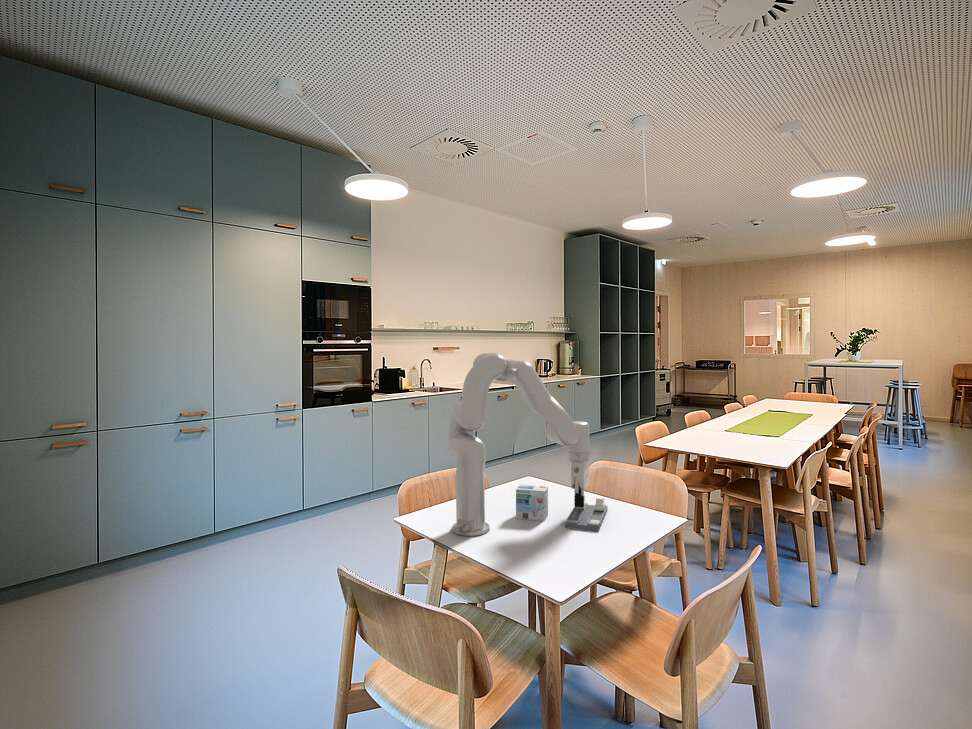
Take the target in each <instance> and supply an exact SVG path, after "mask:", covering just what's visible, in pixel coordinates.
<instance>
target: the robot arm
mask: <svg viewBox="0 0 972 729" xmlns="http://www.w3.org/2000/svg"><path fill="white" fill-rule="evenodd" d="M494 381H497V382H500V383H506V384H512V385H514V386H516V388H517V390H518V391H519V393H520V395H521V396H522V398H523V399H524V401H525V402H526V404H527V406H528V407H529V409H530V410H532V411H533V412H534V414H537V415H538V416H540V417H541V418H542V419H543V420H545V421H546V422H547V423H548V424H547V426H546V427H545V431H544V433H545V437H546V438H547V440H549V441H550V442H552V443H555V444H558V445H561V446H563V447H568V450H567V451H568V453H567V454H568V456H567V457H568V458H567V459H568V461H569V462H571V463H570V487H571V489H573V490H574V491H573V492H574V505H573V506H574V507H584V496H585V493H584V492H585V490H586V489H587V487H588V486H589V483H590V482H589V481H590V479H589V464H588V463H589V461H590V459H591V458H590V455H591V454H590V424H589V422H586V421H581V420H580V421H579V420H577V421H574V420H572V418H571V417H570V415H569V414H568V412H567V411H566V409H565V408H563V406H562V405H561V404H560V403H559V402H558V401H557V399H555V398H554V397H553V396H552V395H551V393H550V392H549V390H548V389H547V387H546V385H545V384H544V383H543V380H542V379H541V378H540V376H539V374H538V373H537V371H536V369H535V368H534V366H533V365H532V364H531V363H530V362H528V361H527V360H525V361H524V360H514V359H513V360H512V359H508V358H505V357H504V356H503V355H501V354H499V353H490V352H489V353H480V354H478V355H477V356H476V357H475V358H474V360H473V363H472V367H471V368H470V370H469V371H468V372H467V374H466V376H465V379H464V381H463V385H462V392H461V393H462V394H461V398H460V399H461V401H459V402H457V403H456V405H455V406H454V407H453V409H452V411H451V415H450V419H449V420H450V424H449V434H448V448H449V449H448V450H449V451H450V453H451V454H452V456H453V457H454V458H456V460H457V462H456V469H455V470H456V471H455V502H456V504H455V508H456V509H455V511H456V512H455V513H456V514H455V516H456V518H455V519H456V522H455V523H453V525H451V531H452V532H453V533H454V534H457V535H460V536H465V537H474V536H475V537H476V536H482V535H484V534H486V533H488V532H489V531H490V528H491V527H490V524H489V523H488V522H487V521H485V520H486V511H485V509H486V506H485V505H486V504H485V500H486V499H485V498H486V497H485V465H486V460H487V459H486V458H487V449H486V446H485V444H484V442H483V440H482V439H480V438H479V437H478V436H476V432H478V431H481V429H483V427H484V426H485V423H486V417H487V403H488V402H487V400H488V395H489V389H490V387H491V385H492V383H493V382H494Z"/></svg>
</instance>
